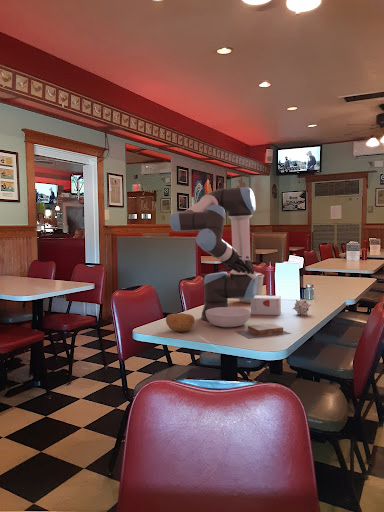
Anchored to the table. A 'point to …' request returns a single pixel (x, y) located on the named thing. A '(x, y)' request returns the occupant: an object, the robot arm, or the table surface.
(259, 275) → the canister
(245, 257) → the robot arm
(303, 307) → the game die
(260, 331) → the wooden block
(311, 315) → the table surface
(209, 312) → the serving bowl
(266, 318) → the table surface
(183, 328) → the potato
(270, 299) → the supplement box
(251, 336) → the rubber mat
